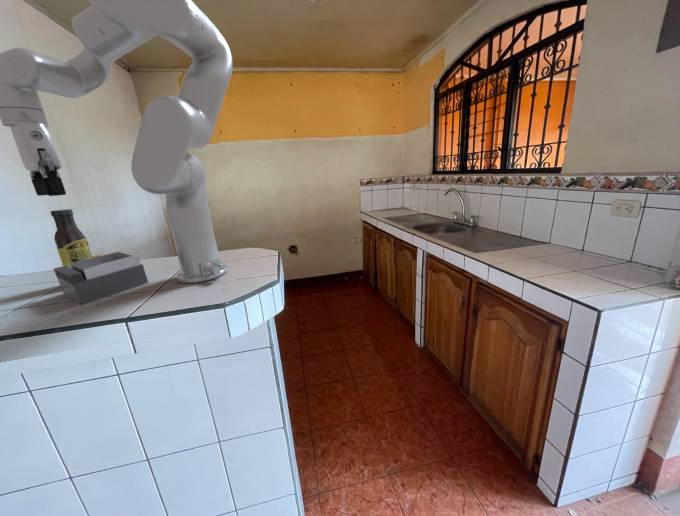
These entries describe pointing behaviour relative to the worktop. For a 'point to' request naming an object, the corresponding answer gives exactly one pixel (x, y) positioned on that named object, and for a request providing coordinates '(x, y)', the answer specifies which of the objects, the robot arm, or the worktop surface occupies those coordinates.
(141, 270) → the grey stepped tray box
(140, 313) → the worktop surface
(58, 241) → the sauce bottle
